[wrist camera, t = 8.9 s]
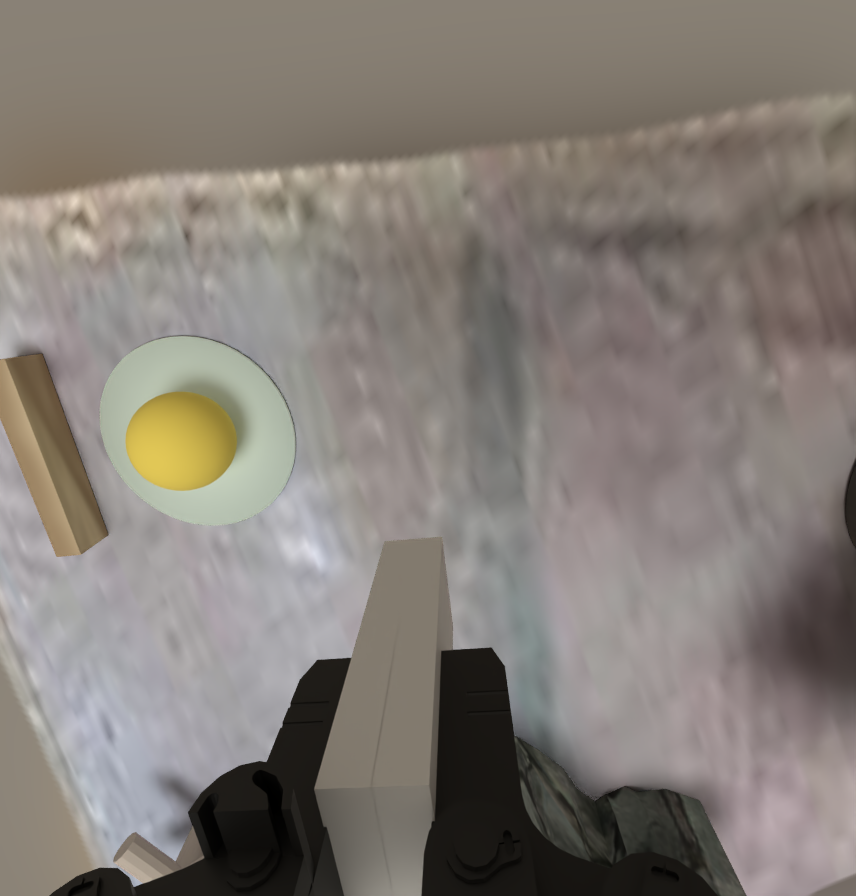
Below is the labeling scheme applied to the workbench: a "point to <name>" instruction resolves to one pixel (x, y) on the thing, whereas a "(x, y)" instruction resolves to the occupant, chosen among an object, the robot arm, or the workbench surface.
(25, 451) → the stopper
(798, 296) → the workbench surface
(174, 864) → the pipe connector
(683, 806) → the stone wall
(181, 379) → the mark
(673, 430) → the workbench surface
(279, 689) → the workbench surface
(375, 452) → the workbench surface
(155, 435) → the ball
